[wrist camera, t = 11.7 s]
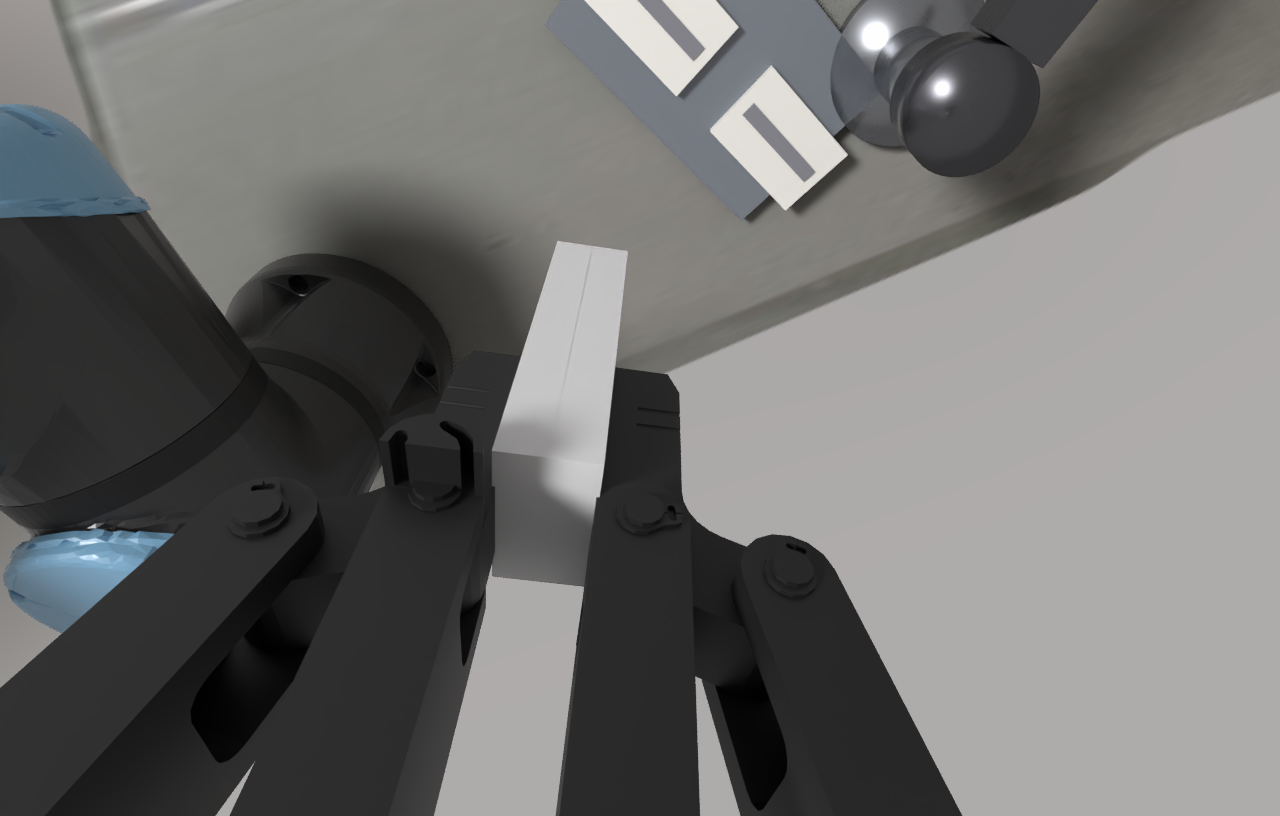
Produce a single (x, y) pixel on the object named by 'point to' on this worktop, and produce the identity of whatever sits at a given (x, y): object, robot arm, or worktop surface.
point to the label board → (726, 85)
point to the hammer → (980, 85)
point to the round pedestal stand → (894, 51)
